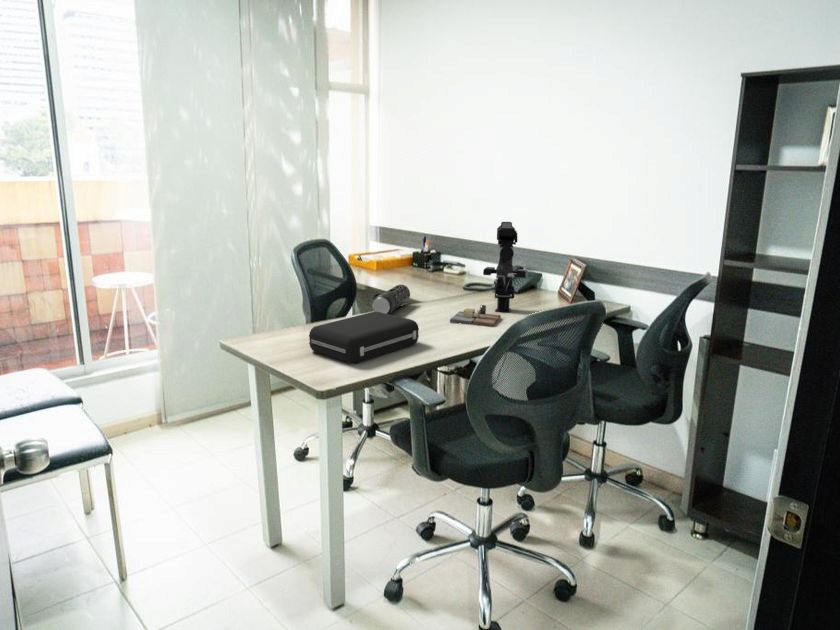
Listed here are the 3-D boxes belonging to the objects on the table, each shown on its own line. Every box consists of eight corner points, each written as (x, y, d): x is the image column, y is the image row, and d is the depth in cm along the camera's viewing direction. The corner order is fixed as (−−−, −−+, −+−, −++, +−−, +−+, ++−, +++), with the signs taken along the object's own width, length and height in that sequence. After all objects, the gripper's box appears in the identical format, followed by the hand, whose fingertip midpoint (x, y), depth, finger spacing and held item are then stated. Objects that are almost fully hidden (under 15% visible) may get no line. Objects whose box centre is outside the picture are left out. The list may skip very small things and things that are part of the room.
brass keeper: (465, 315, 276) (466, 308, 275) (480, 316, 274) (480, 309, 273) (463, 317, 272) (463, 310, 272) (478, 318, 270) (478, 311, 269)
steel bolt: (467, 315, 275) (468, 303, 274) (486, 316, 272) (486, 305, 271) (466, 316, 273) (466, 304, 271) (484, 318, 270) (485, 306, 269)
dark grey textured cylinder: (410, 305, 300) (410, 284, 297) (391, 319, 274) (390, 296, 271) (392, 304, 302) (392, 283, 300) (370, 318, 276) (370, 295, 274)
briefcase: (365, 329, 259) (365, 306, 256) (422, 344, 239) (422, 319, 236) (295, 348, 233) (293, 323, 230) (352, 368, 212) (352, 340, 210)
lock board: (459, 314, 283) (459, 311, 282) (500, 318, 277) (500, 315, 276) (449, 322, 269) (449, 319, 269) (492, 326, 263) (493, 323, 263)
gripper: (480, 257, 266) (479, 293, 270) (524, 260, 260) (522, 297, 264) (486, 254, 277) (485, 288, 281) (528, 256, 271) (527, 291, 275)
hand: (504, 291), depth 275 cm, fingers closed
